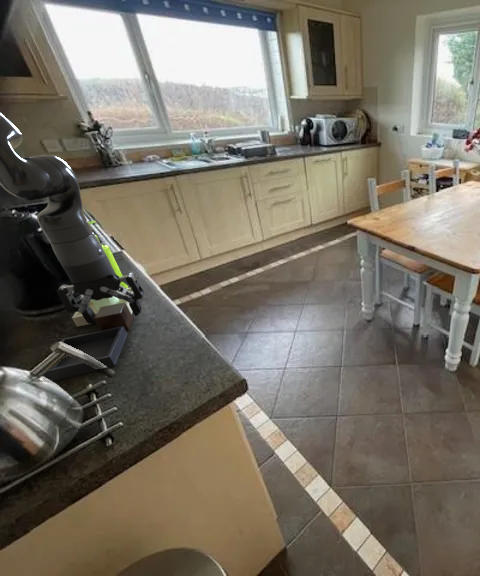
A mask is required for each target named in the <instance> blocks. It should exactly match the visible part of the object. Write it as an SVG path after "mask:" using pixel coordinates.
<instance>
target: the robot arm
mask: <svg viewBox="0 0 480 576" xmlns="http://www.w3.org/2000/svg"><path fill="white" fill-rule="evenodd" d="M23 137H24V136H23V135H22V133H21V132H20V130H19V129H18V128H17V127H16V126H15V125H14V124H13V123H12V122H11V121H10V120H9V119H8V118H6V117H5V115H3V114H2V112H0V186H1V187H2V188H3V189H4V191H6V192H8V193H9V194H10V195H13V196H15V197H16V198H18V199H21V200H24V201H29V202H31V201H32V202H33V201H40V200H43V199H46V198H47V206H46V207H45V208H44V209H43V210H41V211H40V212H39V213H38V214H37V216H36V220H37V222H38V225H39V226H40V228H41V230H42V232H43V233H44V235H45V237H46V238H47V240H48V242H49V243H50V245H51V248H52V251H53V254H54V255H55V256H56V259H57V261H58V262H59V263H60V265H61V267H62V269H63V270H64V272H65V273H66V275H67V277H68V278H69V280H70V281H71V283H72V284H71V285H68V284H61V285H60V287H58V289H57V290H56V294H57V295H58V297H59V299H60V301H61V303H62V305H63V306H64V307H65V310H66V312H67V313H68V314H72V313H76V312H80V313H81V314H82V315H83V317H84V318H85V320H86V322H87V323H89V324H88V325H91V326H96V325H98V324H97V322H96V321H95V319H94V318H95V316H96V315H95V313H94V312H93V310H92V308H89V307H88V306H89V304H90V302H91V300H95V301H97V300H101V299H103V298H112V297H113V296H114V297H116V298H118V299H123V300H125V301H127V302H129V305H130V307H131V309H132V311H133V313H132V314H133V316H134V317H138V316H140V313H141V312H142V310H143V309H142V306H141V303H140V301H139V300H141V299H143V296H144V294H145V290H144V289H143V287H142V285H141V284H140V282H139V280H138V278H137V276H136V275H135V273H134V272H128V273H127V274H125V275H123V276H121V277H119V276H118V275H116V273H115V271H114V269H113V267H112V265H111V263H110V261H109V259H108V257H107V255H106V253H105V251H104V249H103V247H102V245H103V244H100V243H101V241H100V239H99V238H98V239H99V240H98V239H97V238H96V236H95V235H96V234H95V233H94V231H93V229H92V226H91V225H89V223H88V221H89V220H88V219H87V217H86V216H85V213H84V207H83V201H82V195H81V189H80V184H79V180H78V178H77V175H76V174H75V172H74V170H73V169H72V168H71V167H70V165H68V163H67V162H66V161H64V160H63V159H61V158H60V157H57V156H56V155H52V154H39V155H33V156H27V157H22V158H21V157H20V156H19V155H18V154H17V153H16V152H15V151H14V150H15V149H17V148H18V147H19V146H21V144H22V143H23V141H24V140H23V139H24V138H23ZM99 241H100V242H99ZM121 282H124V283H125V284H126V285H127V286H128V287H129V288H131V290H132V291H133V293H132V292H130V291H128V290H127V289H126V288H125V287H123V286H121V285H120V283H121ZM117 290H118V291H119V292H118V291H117ZM75 292H76V293H77V294H80V295H81V296H83V297H82V300H81V302H80V303H78V302H77V300H76V299H75V296H74V293H75ZM90 323H91V324H90Z"/></svg>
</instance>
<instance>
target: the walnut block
mask: <svg viewBox="0 0 480 576" xmlns="http://www.w3.org/2000/svg"><path fill="white" fill-rule="evenodd" d="M94 319H95V321H96V322H97V324H96V325H97V326H98V327H99V329H100V331H102V330H107V329H111V328H116V327H121V326H123V327H124V329H125V330H126V332H127V331H130V329H131V326H132V324H133V321H134V317H133V314H132V315H131V313H130V311H129V309H128V307H127V305H126V303H119V304H114V305H109V306H104V307H100V309H99V311H98V313H97V314H96V316H95V318H94Z"/></svg>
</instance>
